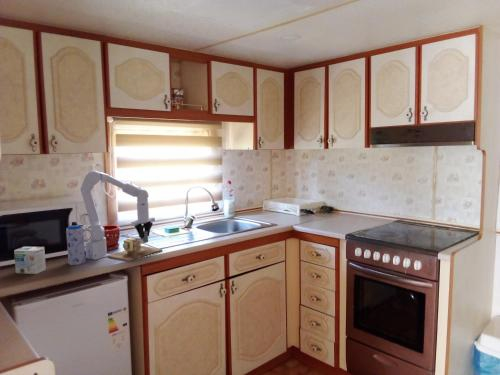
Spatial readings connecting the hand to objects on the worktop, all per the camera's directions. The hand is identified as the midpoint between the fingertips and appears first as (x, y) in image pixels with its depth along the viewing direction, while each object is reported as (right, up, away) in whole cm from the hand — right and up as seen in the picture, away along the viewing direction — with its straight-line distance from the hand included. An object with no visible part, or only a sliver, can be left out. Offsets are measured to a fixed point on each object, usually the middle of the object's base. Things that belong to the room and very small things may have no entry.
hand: (144, 236), depth 208 cm
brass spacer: (-6, -6, -8) cm, 12 cm away
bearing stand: (-3, -9, -4) cm, 10 cm away
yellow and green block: (-3, -4, -5) cm, 7 cm away
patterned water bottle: (-28, -11, -16) cm, 34 cm away
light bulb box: (-44, -12, -29) cm, 54 cm away
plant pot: (-22, -8, +8) cm, 25 cm away
